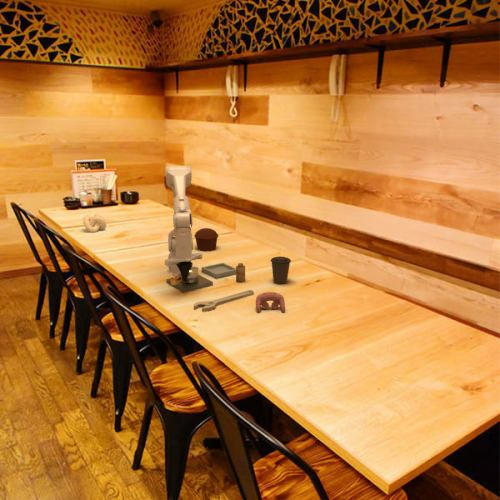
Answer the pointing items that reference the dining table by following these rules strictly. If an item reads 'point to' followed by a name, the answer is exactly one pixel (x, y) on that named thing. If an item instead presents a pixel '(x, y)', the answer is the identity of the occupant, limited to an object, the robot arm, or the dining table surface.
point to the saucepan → (190, 279)
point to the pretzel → (94, 223)
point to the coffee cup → (280, 269)
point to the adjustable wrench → (221, 301)
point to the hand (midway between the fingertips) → (184, 280)
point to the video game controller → (270, 296)
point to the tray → (219, 270)
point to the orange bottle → (240, 273)
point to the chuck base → (191, 284)
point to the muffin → (206, 239)
